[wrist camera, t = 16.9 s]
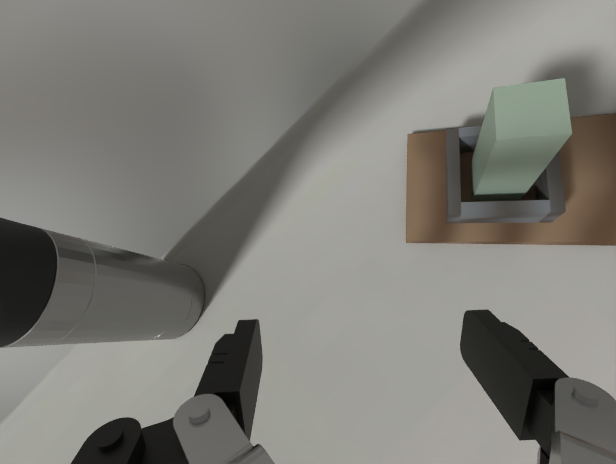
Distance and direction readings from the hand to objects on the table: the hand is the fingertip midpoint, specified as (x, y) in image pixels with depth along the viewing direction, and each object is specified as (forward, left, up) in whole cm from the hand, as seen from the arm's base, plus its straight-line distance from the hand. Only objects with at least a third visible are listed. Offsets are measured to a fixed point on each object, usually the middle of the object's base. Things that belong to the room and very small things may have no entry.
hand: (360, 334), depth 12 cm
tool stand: (+11, +15, -20) cm, 27 cm away
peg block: (+9, +15, -19) cm, 26 cm away
